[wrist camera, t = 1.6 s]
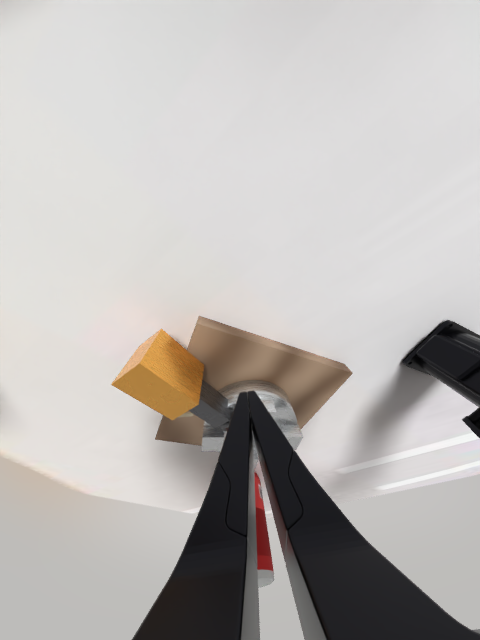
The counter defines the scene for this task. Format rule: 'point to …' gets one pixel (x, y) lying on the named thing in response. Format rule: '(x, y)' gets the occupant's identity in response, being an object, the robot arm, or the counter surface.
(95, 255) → the counter surface
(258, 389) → the silver tabbed disc tool
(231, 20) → the counter surface
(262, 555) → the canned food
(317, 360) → the board
